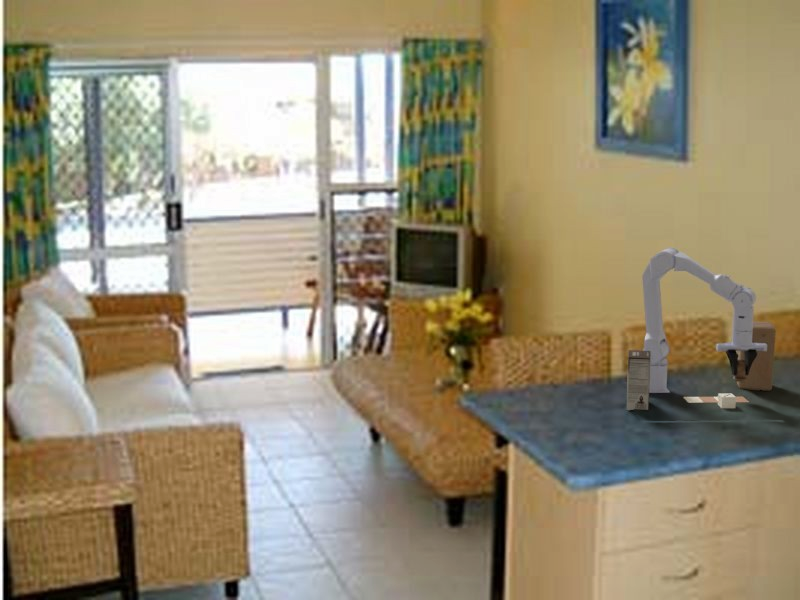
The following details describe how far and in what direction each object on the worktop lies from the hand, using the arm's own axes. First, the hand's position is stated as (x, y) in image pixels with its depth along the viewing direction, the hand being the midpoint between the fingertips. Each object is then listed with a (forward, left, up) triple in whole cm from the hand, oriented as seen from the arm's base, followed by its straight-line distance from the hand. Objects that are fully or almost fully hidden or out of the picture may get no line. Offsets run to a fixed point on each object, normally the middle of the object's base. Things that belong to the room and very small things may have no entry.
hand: (740, 374), depth 332 cm
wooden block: (+10, +16, -8) cm, 21 cm away
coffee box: (-31, -5, -8) cm, 33 cm away
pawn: (0, 0, -2) cm, 2 cm away
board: (-7, 0, -8) cm, 11 cm away
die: (-6, -7, -8) cm, 12 cm away
